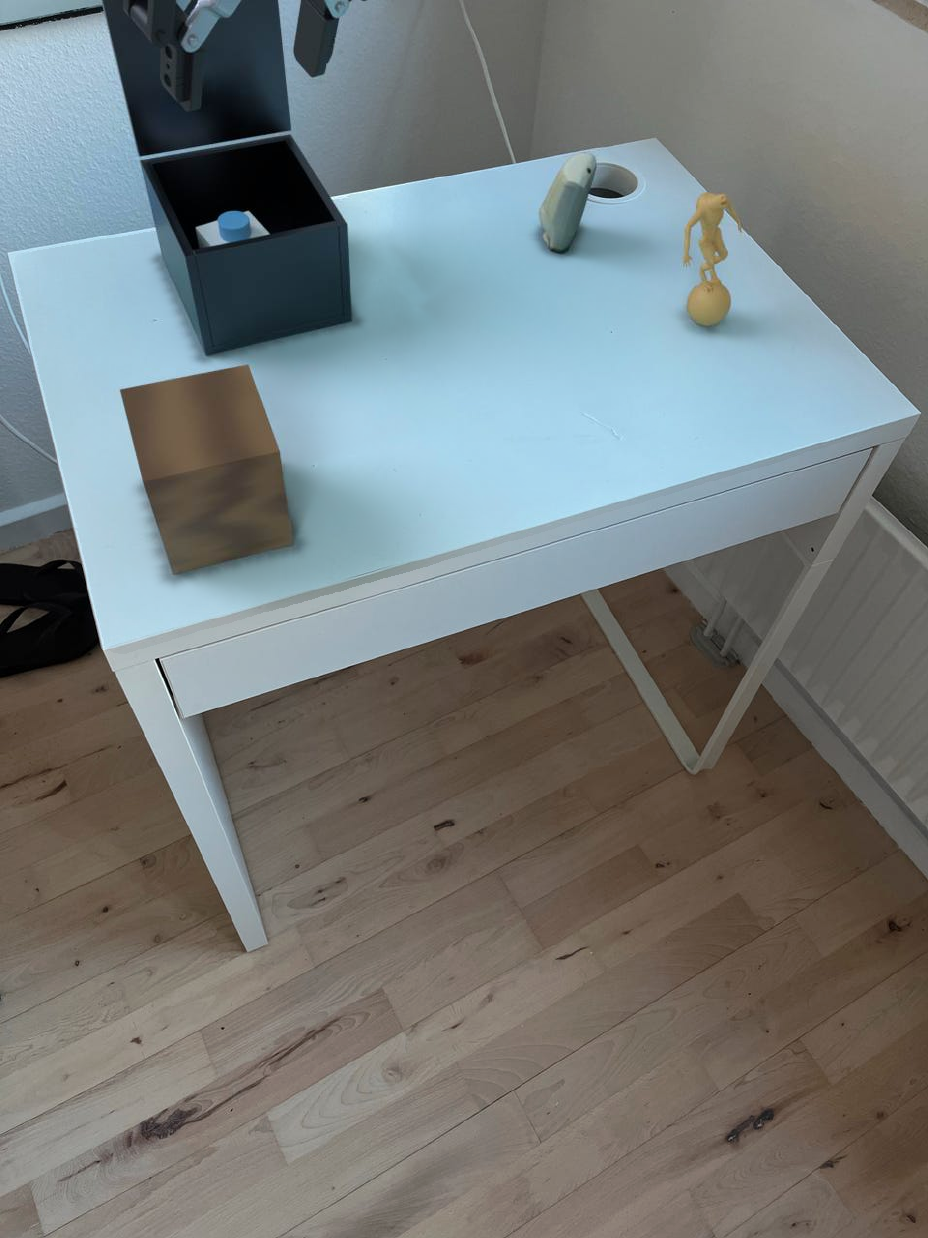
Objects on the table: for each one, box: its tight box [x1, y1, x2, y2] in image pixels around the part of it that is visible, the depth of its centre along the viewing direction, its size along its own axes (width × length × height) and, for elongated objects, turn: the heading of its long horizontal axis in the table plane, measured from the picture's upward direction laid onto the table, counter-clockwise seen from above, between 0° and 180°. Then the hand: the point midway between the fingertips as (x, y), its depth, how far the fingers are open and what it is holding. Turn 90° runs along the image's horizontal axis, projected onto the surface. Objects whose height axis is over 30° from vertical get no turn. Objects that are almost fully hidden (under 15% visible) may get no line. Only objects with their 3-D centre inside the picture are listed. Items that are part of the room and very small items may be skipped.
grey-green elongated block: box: [538, 151, 598, 255], centre depth 91 cm, size 6×5×8 cm
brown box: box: [119, 364, 294, 575], centre depth 68 cm, size 9×9×10 cm
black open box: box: [139, 133, 353, 356], centre depth 83 cm, size 15×14×10 cm
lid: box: [100, 0, 292, 157], centre depth 77 cm, size 15×14×4 cm
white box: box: [196, 211, 269, 248], centre depth 81 cm, size 5×5×8 cm
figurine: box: [682, 191, 743, 327], centre depth 84 cm, size 8×6×12 cm
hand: (247, 83), depth 53 cm, fingers open, 8 cm apart
